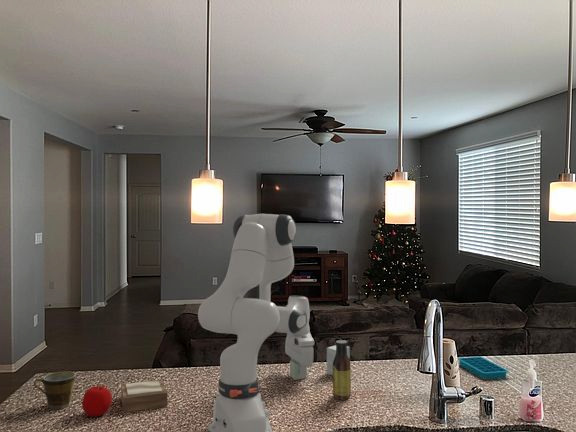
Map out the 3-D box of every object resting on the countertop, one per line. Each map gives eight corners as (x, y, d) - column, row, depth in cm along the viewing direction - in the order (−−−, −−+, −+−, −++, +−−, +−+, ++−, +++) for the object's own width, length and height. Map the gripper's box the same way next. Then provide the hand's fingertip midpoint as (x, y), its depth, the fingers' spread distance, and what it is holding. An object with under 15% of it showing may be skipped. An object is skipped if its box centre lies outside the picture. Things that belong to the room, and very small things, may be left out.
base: (167, 406, 169) (167, 391, 169) (123, 412, 164) (123, 397, 164) (161, 392, 182) (161, 378, 182) (120, 397, 177) (120, 383, 177)
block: (306, 378, 197) (306, 362, 197) (294, 379, 195) (294, 364, 195) (301, 374, 202) (301, 359, 201) (290, 375, 200) (290, 360, 200)
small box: (339, 369, 208) (339, 343, 208) (350, 372, 204) (350, 346, 204) (326, 373, 203) (326, 347, 203) (336, 376, 199) (336, 350, 199)
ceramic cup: (79, 399, 175) (78, 370, 175) (71, 410, 165) (71, 380, 165) (38, 401, 173) (38, 372, 173) (29, 413, 163) (29, 382, 163)
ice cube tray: (480, 363, 218) (480, 356, 218) (510, 379, 198) (510, 371, 198) (456, 365, 215) (456, 358, 215) (483, 380, 196) (483, 373, 196)
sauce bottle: (336, 392, 182) (336, 337, 181) (353, 395, 179) (353, 339, 179) (329, 399, 176) (330, 342, 175) (346, 402, 173) (347, 344, 173)
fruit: (115, 415, 161) (114, 384, 161) (84, 422, 157) (84, 390, 156) (108, 406, 169) (108, 376, 169) (79, 412, 164) (79, 381, 164)
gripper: (281, 331, 207) (281, 364, 207) (300, 343, 188) (300, 380, 188) (295, 329, 209) (295, 363, 209) (316, 341, 190) (316, 378, 190)
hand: (298, 371), depth 198 cm, fingers closed on block, 5 cm apart
